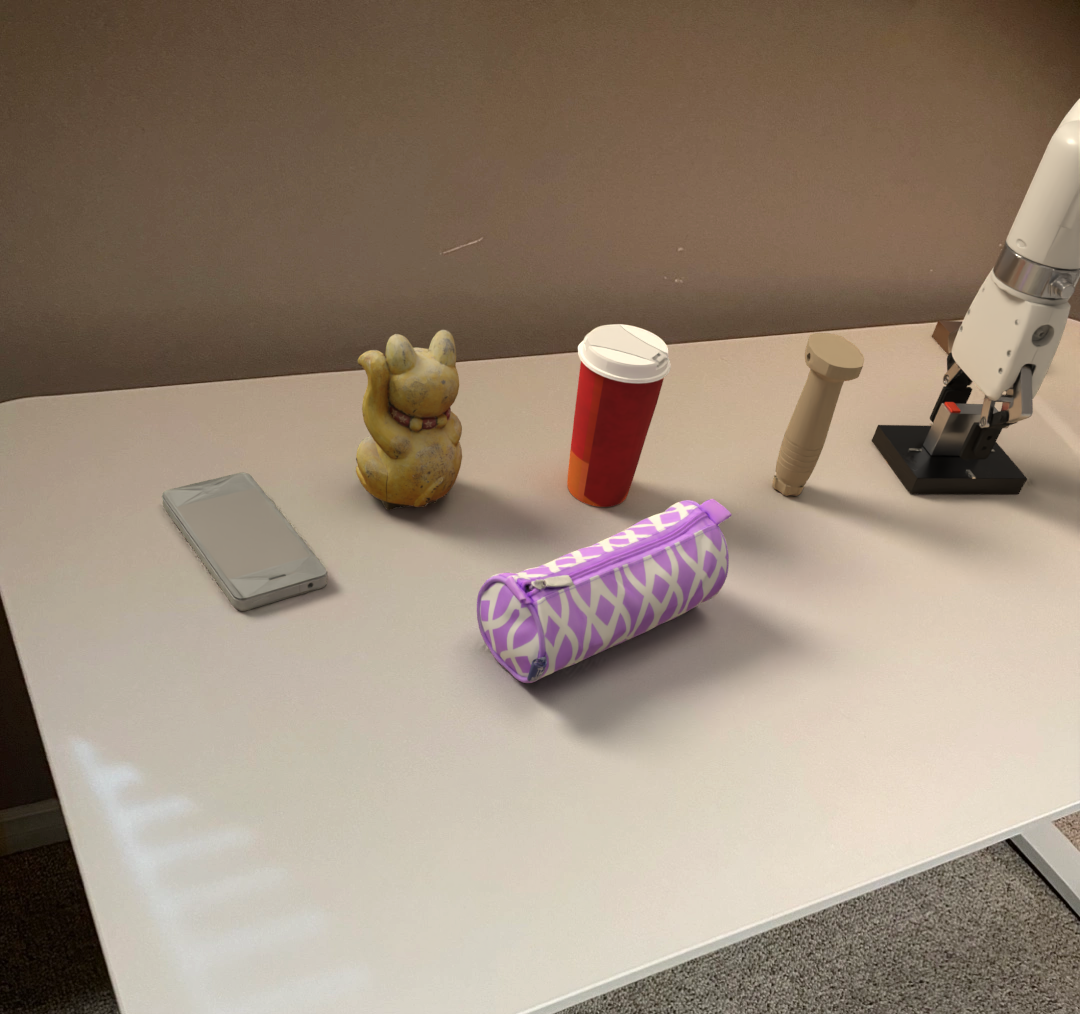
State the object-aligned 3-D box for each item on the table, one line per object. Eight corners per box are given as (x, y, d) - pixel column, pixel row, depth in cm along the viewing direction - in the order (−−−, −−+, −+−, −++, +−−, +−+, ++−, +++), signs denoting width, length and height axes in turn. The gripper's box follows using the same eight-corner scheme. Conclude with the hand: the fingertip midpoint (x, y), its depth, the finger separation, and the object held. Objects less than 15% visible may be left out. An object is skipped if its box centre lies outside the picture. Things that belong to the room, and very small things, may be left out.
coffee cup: (653, 487, 106) (689, 344, 95) (614, 525, 101) (648, 378, 90) (579, 454, 108) (607, 310, 97) (538, 490, 103) (562, 342, 92)
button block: (999, 339, 141) (1012, 309, 138) (1029, 370, 136) (1044, 340, 133) (931, 336, 139) (943, 306, 136) (959, 368, 134) (973, 337, 131)
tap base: (974, 441, 121) (983, 424, 120) (1019, 494, 115) (1028, 477, 113) (870, 440, 118) (878, 422, 117) (910, 495, 112) (918, 477, 110)
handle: (774, 507, 106) (823, 366, 96) (755, 469, 111) (800, 331, 100) (819, 508, 107) (873, 369, 97) (798, 471, 112) (848, 334, 101)
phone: (249, 482, 97) (248, 470, 96) (332, 585, 89) (332, 573, 88) (160, 503, 93) (158, 491, 93) (238, 614, 85) (237, 601, 84)
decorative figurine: (434, 460, 104) (446, 310, 93) (479, 507, 100) (497, 356, 89) (343, 482, 99) (345, 328, 89) (386, 532, 95) (394, 376, 84)
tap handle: (972, 445, 116) (993, 402, 113) (980, 456, 115) (1002, 412, 111) (922, 445, 115) (942, 400, 111) (930, 455, 114) (951, 411, 110)
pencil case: (528, 714, 82) (545, 620, 75) (455, 643, 86) (465, 548, 80) (724, 615, 94) (754, 526, 87) (650, 557, 98) (674, 468, 91)
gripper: (1121, 317, 96) (1028, 487, 109) (1025, 234, 108) (951, 396, 121) (1049, 314, 95) (963, 487, 107) (959, 230, 106) (891, 395, 119)
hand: (957, 437), depth 114 cm, fingers open, 6 cm apart
